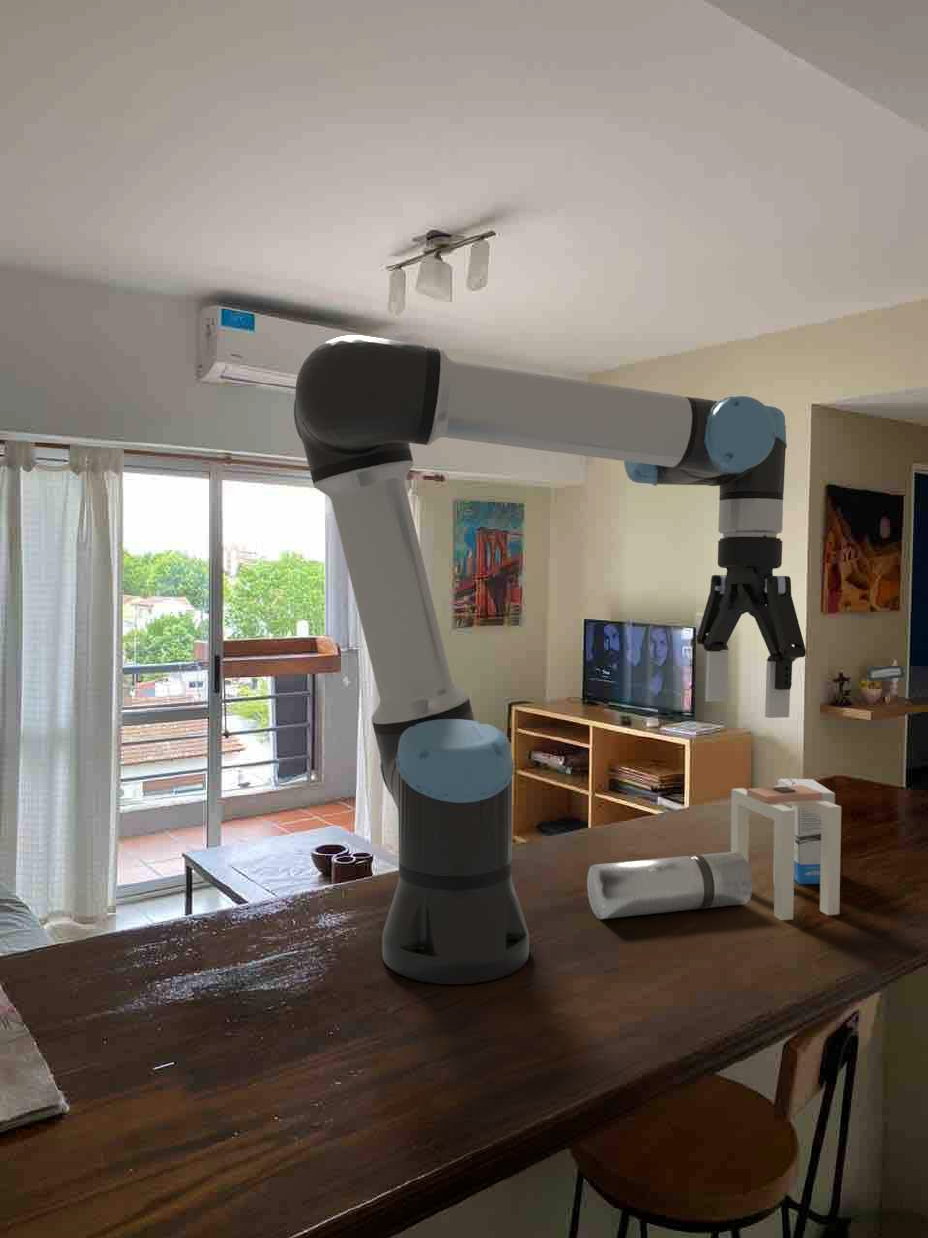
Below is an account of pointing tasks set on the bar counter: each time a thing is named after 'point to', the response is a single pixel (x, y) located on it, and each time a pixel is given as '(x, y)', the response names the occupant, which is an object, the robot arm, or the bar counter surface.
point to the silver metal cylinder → (668, 884)
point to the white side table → (791, 839)
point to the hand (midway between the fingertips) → (744, 709)
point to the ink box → (807, 835)
